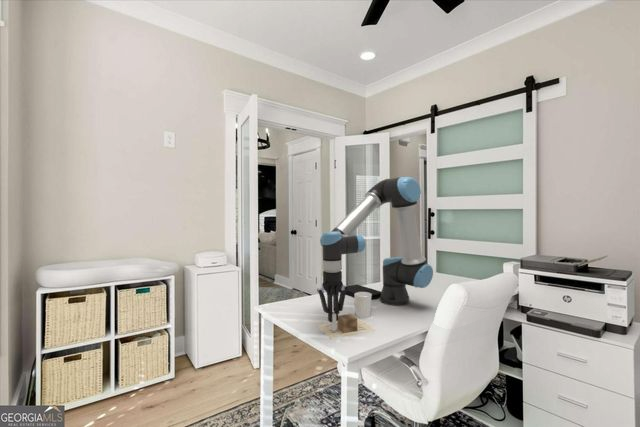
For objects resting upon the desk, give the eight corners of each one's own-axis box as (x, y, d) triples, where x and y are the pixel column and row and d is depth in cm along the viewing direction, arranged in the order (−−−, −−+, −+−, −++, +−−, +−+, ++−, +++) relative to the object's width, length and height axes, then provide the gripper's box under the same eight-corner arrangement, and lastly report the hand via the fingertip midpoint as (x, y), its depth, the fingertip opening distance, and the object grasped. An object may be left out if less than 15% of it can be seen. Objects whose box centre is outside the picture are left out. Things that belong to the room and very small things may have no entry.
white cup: (353, 312, 147) (353, 291, 147) (370, 312, 147) (370, 291, 147) (355, 318, 139) (355, 296, 139) (373, 318, 139) (372, 296, 139)
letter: (358, 318, 139) (358, 318, 139) (375, 330, 125) (375, 330, 125) (316, 325, 132) (316, 324, 132) (330, 339, 118) (330, 338, 118)
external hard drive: (357, 289, 191) (357, 284, 191) (384, 297, 172) (384, 292, 172) (338, 292, 184) (338, 287, 184) (365, 302, 164) (365, 296, 164)
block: (350, 325, 131) (350, 313, 131) (357, 330, 125) (357, 318, 125) (337, 327, 129) (337, 315, 129) (343, 333, 123) (343, 320, 123)
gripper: (343, 267, 130) (343, 323, 131) (313, 270, 125) (314, 328, 126) (351, 270, 123) (352, 329, 124) (320, 273, 118) (321, 335, 119)
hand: (333, 329), depth 125 cm, fingers closed
